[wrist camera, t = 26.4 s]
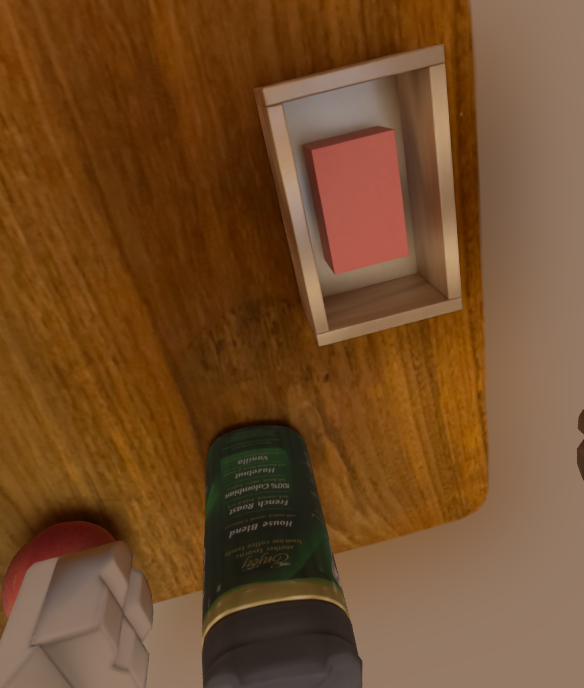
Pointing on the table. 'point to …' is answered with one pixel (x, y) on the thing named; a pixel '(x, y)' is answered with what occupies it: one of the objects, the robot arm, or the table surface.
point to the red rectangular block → (357, 198)
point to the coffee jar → (270, 570)
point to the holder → (415, 176)
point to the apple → (50, 552)
